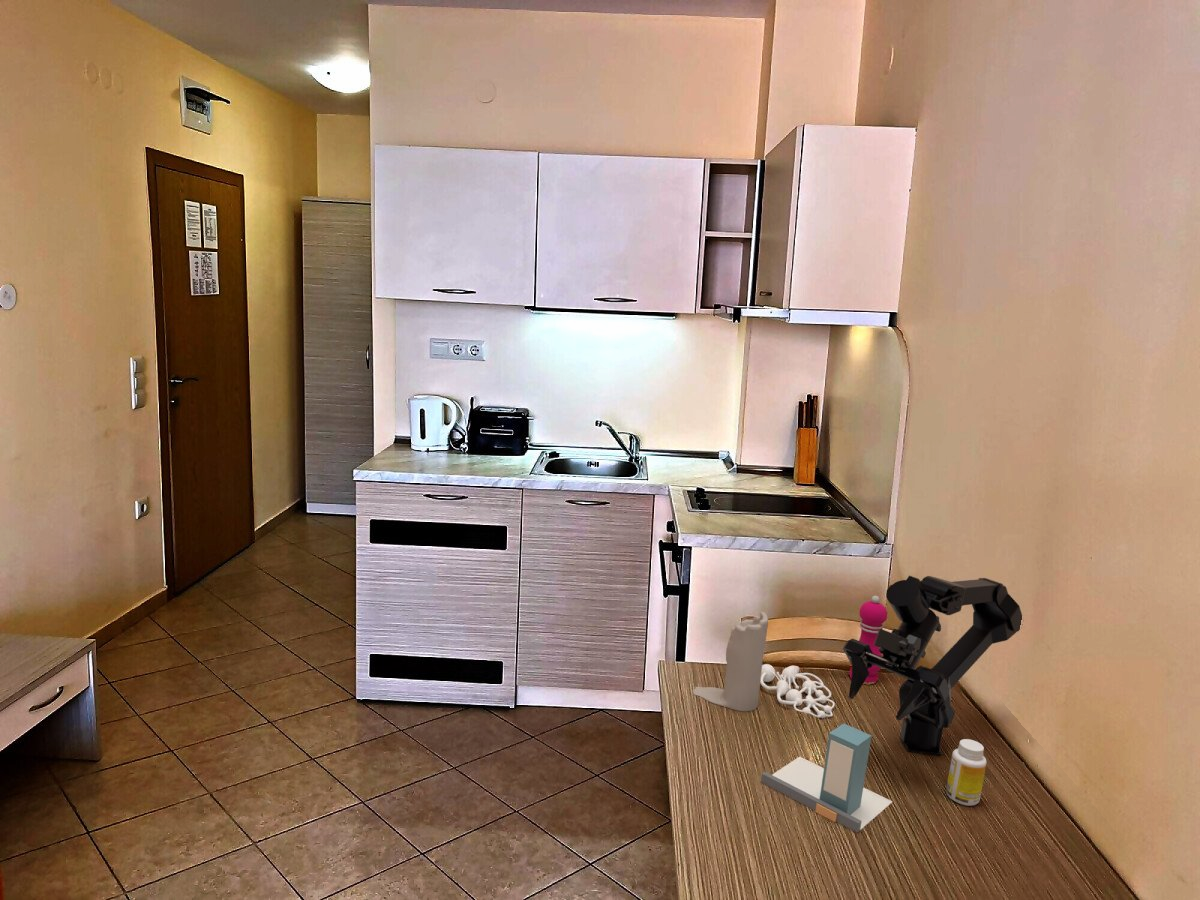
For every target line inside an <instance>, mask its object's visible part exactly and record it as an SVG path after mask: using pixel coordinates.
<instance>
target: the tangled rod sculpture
mask: <svg viewBox="0 0 1200 900" xmlns="http://www.w3.org/2000/svg"><path fill="white" fill-rule="evenodd" d="M799 672H800V667H799V666H797V665H790V666H787V667H785V668H784V669H782V673H781V674H780V672H779V671H776V669H775V668H774V667H773V666H772V665H771V664H769V663H765V664H762V671H761V681H760V686H762V687H763V688H764V689H766V690H769V691H775V690H776V698H777V701H778V703H780V704H782V705H790V706H793V709H794V710H795V711H797V712H801V713H805V714H808V715H810V716H812V717H815V718H818V719H820V718H822V720H824V719H825V718H826V717H828V718H831V717H833V712H832V711H833V709H834V708H835V705H836V703H835V702H834V701H833V700H831V699H830V698H832V691H831V690H830V689H829V688H828V687H827V686H825V684H824V682H823V681H822V679H821V678H820V677H818V676H817V675H815V674H814V673H809V672H803V673H802V672H800V673H799ZM808 676H810V677H813V678H815V680H818V681H815V680H811V679H810V678H809V677H808ZM775 677H776V679H777V680H778V681H777V682H776V685H775V686H773V685H772V686H768V685H767V684H766V682H767V683H769V682H771V681H773V680H774V678H775ZM797 679H803V680H805V681H804V682H803V683H802V686H801V687H802V688H801V689H800V686H799V685H798V684H797V683H796V680H797ZM792 683H793V684H794V686H795V688H792V686H791V684H792ZM816 684H817V685H816ZM799 689H800V690H799ZM821 689H824V690H826V691H827V693H828V696H826V695H825V694H824V692H823V690H821ZM802 693H805V694H807V695H806V697H805V698H803V694H802ZM814 693H815V696H816V698H814V697H813V694H814ZM783 696H785V700H784V699H782V698H781V697H783ZM827 701H828V702H829V703H831V704H832V706H830V705H828V704H826V703H827ZM818 702H819V703H818ZM803 703H804V704H805V707H804V708H802V709H798V708H797V707H800V706H802V704H803ZM823 704H826V705H823ZM818 707H820V708H821V709H823V710H819V709H818ZM812 708H813V710H814V711H815V712H816V714H815V713H813V712H812V711H811V709H812ZM825 712H826V713H825ZM823 718H824V719H823Z"/></svg>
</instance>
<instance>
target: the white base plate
mask: <svg viewBox="0 0 1200 900" xmlns="http://www.w3.org/2000/svg"><path fill="white" fill-rule="evenodd" d="M823 772H824V767H822V766H820V765H818V764H816V763H814V762H812V761H810V760H807V759H805V758H803V757H801V756H798V757H797V758H795V759H794V760H792V761H791V762H789V763H788V764H786V765H784V766H782V768H780V769H778V770H777V771H775V772H774V773H772V774H771V773H769V772H766V771H764V772H763V773H762V774H761V778H760V779H761V781H760V783H761V784H763V785H765V786H767V787H769V788H771V789H773V790H775V791H777V792H778V793H781V794H783V795H784V796H787V798H790V799H792V800H794V801H796V802H797V803H800V804H802V805H804V806H805V807H807V808H809V809H811V810H813V811H815V810H816V804H817V803H818V804H820V805H822V806H824V807H825V808H827V809H829V810H831V811H833V812H835V813H837V818H836V822H835V823H838V824H839V825H842V826H844V827H845V828H847V829H850V830H851V831H853V832H855V833H859V832H860V831H861V830H862V829H863V828H865V826H867V825H868V824H869V823H870V822H872V820H873V819H875V818H876V817H877V816H879V814H881V812H883V811H884V810H885V809H886V808H888V806H890V805H891V804H892V803H893V801H892V800H890V799H888V798H886V797H884V796H882V795H880V794H877V793H876V792H874V791H872V790H870V789H867V788H865V786H863V792H862V799H861V805H860V807H859V808H858V809H857V810H856V811H855V812H853V813H852V814H851V815H849V814H847V813H845V812H843V811H841V810H839V809H837V808H835V807H833V806H831V805H829V804H828V803H826V802H824V801H822V800H820V792H821V786H822V779H823Z"/></svg>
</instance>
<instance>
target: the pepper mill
mask: <svg viewBox="0 0 1200 900" xmlns="http://www.w3.org/2000/svg"><path fill="white" fill-rule="evenodd" d="M859 617H860V619H861V620H860V624H859V628H860V637H859V639H858V641H860V642H863V643H866V644H868V645H869V646H870V648H871V650H872V652H873V653H874V654H876V655H879V656H881V657H882V656H883V654H882V653H880V651H879V648H880V647H878V646H875V645H874V643H875V640H876V637H877V634H878V632H879V629H882V630H884V629H883V628H884V625H883V624H884V623H885V622H886V621H887V619H888V610H887V607H885V605H884V604H883V603H881V602H880V597H879V596H878V595H873V596H872V597H871V600H869V601H866V602H864V603H863V604H861V606H860V608H859ZM849 663H850V665H851V667H850V669H849V675H850V677H851V678H852V664H851V662H850V661H849ZM881 669H882V668H880V667H878V666H875V665H872V667H871V668H868V671H869V675H868V676H867V678H866V680H865V681H864V682H867V683H869V682H875V681H877V680H878V681H879V673H878V672H880V670H881ZM849 675H848V676H849ZM850 677H849V678H850ZM851 678H850V679H851Z"/></svg>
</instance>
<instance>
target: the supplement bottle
mask: <svg viewBox="0 0 1200 900" xmlns="http://www.w3.org/2000/svg"><path fill="white" fill-rule="evenodd" d="M984 751H985V748H984V745H983V744H982V743H980V742H979V741H976V740H973V739H969V738H963V739H961V740H960V741H959V743H958V748H955V749H954V750H953V751H952V755H951V759H950V765H949V772H948V775H947V776H948V777H947V784H946V789H945V791H946V795H947V796H948V798H949V799H950V800H951V801H954V802H955V803H957V804H960V805H963V806H967V807H969V806H971V807H972V806H976V805H977V804H979V803H980V799H981V795H982V790H983V784H984V779H985V773H986V768H987V759H986V757H985V756H984Z"/></svg>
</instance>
